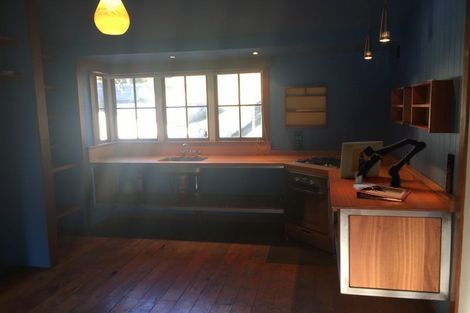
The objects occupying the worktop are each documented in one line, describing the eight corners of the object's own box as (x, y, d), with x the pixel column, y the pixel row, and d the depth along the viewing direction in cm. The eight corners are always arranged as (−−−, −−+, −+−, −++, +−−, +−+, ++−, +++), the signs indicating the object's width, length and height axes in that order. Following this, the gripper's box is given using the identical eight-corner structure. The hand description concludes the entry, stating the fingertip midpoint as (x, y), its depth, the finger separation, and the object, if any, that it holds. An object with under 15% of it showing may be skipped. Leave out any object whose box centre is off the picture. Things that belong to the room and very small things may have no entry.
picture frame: (378, 176, 312) (378, 140, 309) (383, 178, 302) (383, 141, 299) (339, 178, 311) (339, 142, 308) (343, 179, 301) (343, 143, 298)
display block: (372, 186, 271) (372, 183, 270) (378, 189, 261) (378, 186, 260) (353, 187, 270) (353, 184, 270) (358, 189, 260) (358, 187, 260)
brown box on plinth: (363, 184, 278) (363, 171, 277) (362, 186, 273) (362, 172, 272) (354, 184, 280) (354, 171, 279) (354, 186, 275) (354, 172, 274)
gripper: (364, 152, 281) (349, 166, 286) (363, 154, 264) (347, 170, 269) (375, 162, 279) (360, 176, 284) (375, 166, 262) (359, 181, 267)
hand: (356, 175), depth 276 cm, fingers closed on brown box on plinth, 4 cm apart
